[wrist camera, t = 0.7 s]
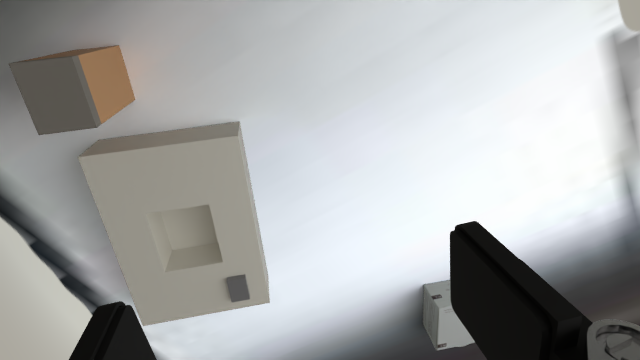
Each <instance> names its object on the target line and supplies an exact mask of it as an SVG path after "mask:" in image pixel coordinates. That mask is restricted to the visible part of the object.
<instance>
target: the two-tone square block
mask: <svg viewBox="0 0 640 360" xmlns="http://www.w3.org/2000/svg"><path fill="white" fill-rule="evenodd" d="M9 66H10V68H11V70H12V73H13V75H14V78H15V80H16V82H17V85H18V87H19V89H20V92H21V94H22V97H23V99H24V101H25V104H26V106H27V108H28V111H29V113H30V115H31V118H32V120H33V123H34V125H35V127H36V130H37V132H38V134H39V135H43V134H51V133H59V132H67V131H75V130H82V129H90V128H97V127H98V126H100V125H101V124H102V123H104V122H105V121H107V120H108V119H109V118H111V117H112V116H113V115H115V114H116V113H117V112H119V111H120V110H122V109H123V108H124V107H126V106H127V105H128V104H130V103H131V102H132V101H134V100H135V97H134V94H133V90H132V87H131V84H130V80H129V77H128V73H127V70H126V67H125V63H124V60H123V57H122V53H121V50H120V47H119V46H109V47H100V48H90V49H81V50H72V51H67V52H63V53H58V54H53V55H48V56H43V57H38V58H33V59H29V60H24V61H19V62H14V63H9Z"/></svg>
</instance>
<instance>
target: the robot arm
mask: <svg viewBox="0 0 640 360" xmlns="http://www.w3.org/2000/svg"><path fill="white" fill-rule="evenodd" d="M450 298H451V305H452V308H453V310H454V312H455V314H456V315H457V317H458V318H459V320H460V321H461V322H462V324H463V325H464V327H465V328H466V330H467V331H468V333H469V334H470V335H471V337H472V338H473V340H474V341H475V343H476V344H477V345H478V347H479V348H480V350H481V351H482V353H483V354H484V355H485V357H486V358H487V360H640V326H638V325H635V324H632V323H629V322H626V321H620V320H613V319H610V320H600V321H597V322H595V323H592V322H591V321H590V320H589V319H587V318H586V317H585V316H584V315H583V314H582V313H581V312H580V311H578V310H577V309H576V308H575V307H574V306H573V305H572V304H571V303H569V302H568V301H567V300H566V299H565V298H564V297H563V296H562V295H560V294H559V293H558V292H557V291H556V290H555V289H554V288H552V287H551V286H550V285H549V284H548V283H547V282H546V281H545V280H543V279H542V278H541V277H540V276H539V275H538V274H537V273H536V272H534V271H533V270H532V269H531V268H530V267H529V266H528V265H527V264H525V263H524V262H523V261H522V260H520V259H518V258H517V257H516V256H515V255H514V254H513V253H512V252H511V251H509V250H508V249H507V248H506V247H505V246H504V245H503V244H502V243H500V242H499V241H498V240H497V239H496V238H495V237H494V236H493V235H491V234H490V233H489V232H488V231H487V230H486V229H485V228H484V227H482V226H481V225H480V224H479V223H478V222H476V221H473V222H468V223H464V224H460V225H457V226H456V227H455V231H452V232H451V233H450ZM69 360H156V358H155V355H154V353H153V351H152V349H151V347H150V345H149V342H148V340H147V338H146V336H145V334H144V332H143V329H142V327H141V325H140V323H139V321H138V319H137V316H136V314H135V312H134V310H133V308H132V306H130V305H125V304H124V303H123V302H115V303H111V304H107V305H102V306H99V307H97V309H96V310H95V312H94V314H93V316H92V318H91V319H90V321H89V323H88V325H87V327H86V329H85V331H84V332H83V334H82V336H81V338H80V340H79V342H78V344H77V345H76V347H75V349H74V351H73V353H72V355H71V357H70V359H69Z"/></svg>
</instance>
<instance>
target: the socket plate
mask: <svg viewBox="0 0 640 360" xmlns="http://www.w3.org/2000/svg"><path fill="white" fill-rule="evenodd" d="M78 159H79V162H80V164H81V167H82V170H83V172H84V175H85V177H86V180H87V182H88V185H89V188H90V190H91V193H92V195H93V198H94V201H95V203H96V206H97V208H98V211H99V213H100V216H101V219H102V221H103V224H104V226H105V229H106V232H107V234H108V237H109V239H110V242H111V244H112V247H113V250H114V252H115V255H116V257H117V260H118V263H119V265H120V268H121V270H122V273H123V276H124V278H125V281H126V283H127V286H128V288H129V291H130V294H131V296H132V299H133V301H134V304H135V307H136V309H137V312H138V314H139V317H140V319H141V322H142V325H143V326H146V325H151V324H156V323H162V322H167V321H173V320H178V319H184V318H189V317H194V316H200V315H205V314H211V313H216V312H221V311H227V310H232V309H238V308H243V307H249V306H254V305H259V304H265V303H270V298H269V281H268V271H267V266H266V261H265V255H264V250H263V244H262V239H261V234H260V228H259V223H258V217H257V212H256V207H255V201H254V196H253V191H252V185H251V180H250V174H249V169H248V164H247V158H246V153H245V147H244V142H243V137H242V131H241V126H240V122H233V123H225V124H217V125H210V126H202V127H194V128H187V129H179V130H171V131H164V132H156V133H148V134H141V135H133V136H126V137H118V138H110V139H103V140H98V141H97V142H96V143H95V144H93V145H92V146H91V147H90V148H88V149H87V150H86V151H85V152H84V153H82V154H81V155H80V156H79V157H78Z"/></svg>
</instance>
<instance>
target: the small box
mask: <svg viewBox="0 0 640 360" xmlns="http://www.w3.org/2000/svg"><path fill="white" fill-rule="evenodd" d="M423 325H424V327H425V329H426V331H427V333H428V335H429V337H430V339H431V341H432V343H433V345H434V347H435V349H436V350H441V349H446V348H451V347H462V346H465V345H468V344H470V343H475V341H474V340H473V338H472V337H471V335H470V334H469V333H468V331H467V330H466V328H465V327H464V325H463V324H462V322H461V321H460V320H459V318H458V317H457V315H456V314H455V312H454V310H453V308H452V305H451V298H450V280H446V281H441V282H435V283H429V284H424V293H423Z"/></svg>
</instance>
